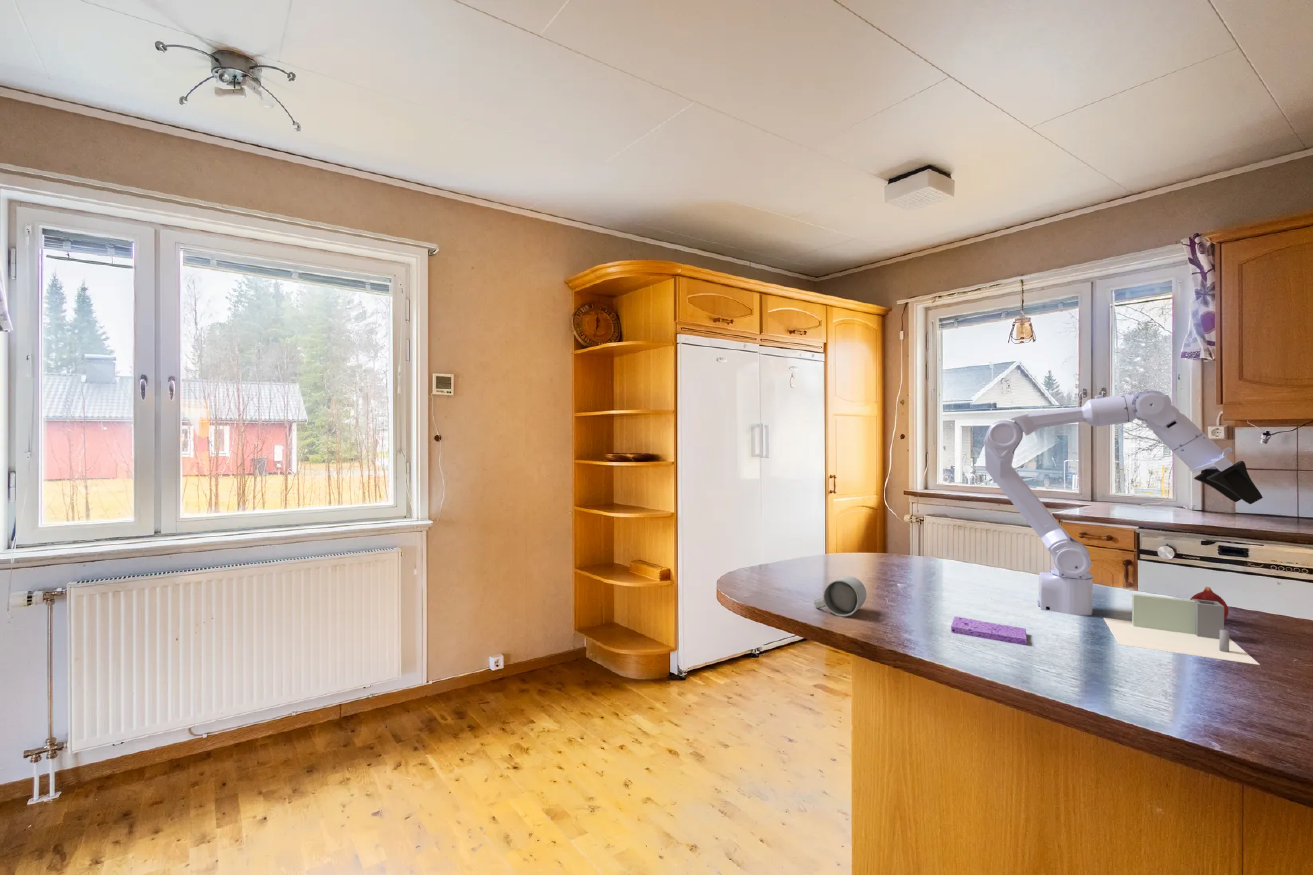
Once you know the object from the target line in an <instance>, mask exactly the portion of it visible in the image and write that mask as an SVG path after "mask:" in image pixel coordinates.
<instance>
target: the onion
mask: <svg viewBox="0 0 1313 875" xmlns="http://www.w3.org/2000/svg"><path fill="white" fill-rule="evenodd" d="M1192 599H1198V600H1207V601H1216V602H1219V603H1220V604H1221V605H1223V606H1224V621H1225V620H1226V619H1227V618H1228V616H1229V613H1230V612H1229V607H1228V604H1227V603H1226V601H1225V600H1224V599H1223V598H1222V597H1221V595H1220V596H1219V595H1218V594H1217V593H1215V592H1214V591H1213V590H1212V588H1211V587H1210V586H1205V587H1204V590H1203V591H1200V592H1198V593H1196V594H1194V595H1193V596H1191V598H1190V599H1189V600H1192Z"/></svg>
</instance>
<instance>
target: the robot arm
mask: <svg viewBox="0 0 1313 875" xmlns="http://www.w3.org/2000/svg"><path fill="white" fill-rule="evenodd" d="M1172 403H1173V402H1172V399H1171V398H1170V396H1169V395H1168V394H1164V393H1163V392H1162V391H1158V390H1151V389H1149V390H1144V391H1139V392H1138V393H1136V394H1135V393H1134V391H1133V390H1130V391H1126V394H1118V395H1111V396H1104V395H1103V394H1099V395H1095V396H1094V398H1091V399H1087V401H1086V402H1085V403H1084V404H1083V405H1082V406H1081V407H1080V406H1079V407H1072V408H1061V409H1055V410H1047V411H1046V410H1045V411H1037V412H1028V413H1025V414H1021V415H1017V416H1014V417H1011V418H1009V420H1007V419H1002V420H998V421H997V420H996V421H994V422H993V423H992V424H991V425H990V426H989V427H988V429H987V430H986V434H985V436H984V440H983V444H984V456H985V457H984V458H985V460H984V461H985V463H984V464H985V465H984V466H985V470H986V472H987V473H988V475H989V476H990V477H991V479H992V480H993V481H994V482H995V483H996V484H997V486H998V488H1000V489H1001V491H1002V492H1003V493H1004V495H1006V497H1007V498H1008V499H1009V501H1010V502H1011V504H1012V505H1013V506H1014V507H1015V508H1016V509H1017V511H1018V512H1019V514H1021V516H1022V517H1023V518H1024V519H1025V521H1026V522H1027V523H1028V525H1029V526H1030V527H1031V528H1032V529H1033V531H1034V532H1035V533H1036V534H1037V535H1038V537H1039V538H1040V539H1041V541H1042V542H1043V545H1044V546H1045V548H1046V549H1047V551H1048V552H1049V553H1050V555H1051V556H1052V561H1053V566H1054V567H1052V568H1050V572H1049V571H1048V572H1045V571H1040V572H1039V574H1038V576H1039V577H1038V597H1037V607H1038V608H1040V610H1041V611H1044V612H1045V611H1048V612H1055V613H1061V614H1067V615H1073V616H1085V617H1086V616H1091V615H1092V614H1093V589H1094V588H1093V581H1094V580H1093V574H1092V573H1091V572H1090V569H1091V565H1092V560H1091V557H1090V552H1089V550H1088V547H1087V546H1086V545H1084V543H1082V542H1081V541H1078V540H1076V539H1074V538H1073V537H1072V536H1071V535H1070V533H1069V532H1068V531H1067V530H1066V529H1065V528H1064V527H1063V526H1062V525H1061V524H1060V523H1059V522H1058V520H1057V519H1056V518H1055V517H1054V516H1053V514H1052V513H1051V511H1049V509H1048V508H1047V507H1046V506H1045V504H1043V502H1042V501H1041V500H1040V498H1039V497H1038V496H1037V495H1036V494H1035V492H1034V491H1033V490H1032V488H1030V486H1029V485H1028V483H1026V481H1025V480H1024V479H1023V478H1022V477H1021V476H1020V474H1019V473H1018V472H1017V471H1016V469H1015V468H1014V467H1013V461H1014V457H1015V451H1016V450H1017V448H1018V447H1019V445H1020V443H1021V441H1023V437H1024V434H1025V436H1029V435H1031V434H1033V433H1034V432H1036V431H1038V430H1039V429H1042V428H1043V429H1044V428H1047V427H1048V428H1049V427H1055V426H1062V425H1069V424H1076V423H1081V422H1082V423H1083V422H1084V423H1086V424H1088V425H1090V426H1091V427H1104V426H1111V425H1119V424H1128V423H1133V421H1135V420H1136V419H1137V420H1139V421H1143V422H1144V424H1146V425H1147V426H1148V427H1149V429H1150V430H1152V433H1153V434H1154V435H1155V436H1156V437H1157V438H1158V439H1159V440H1160V441H1161V442H1162V443H1163V444H1164V445H1165V446H1167V447H1168V449H1169V450H1170V451H1172V453H1173V454H1175V455H1176V456H1177V458H1179V459H1180V460H1181V461H1182V462H1183V463H1184V464H1185V465H1186V466H1187V467H1188V468H1189V471H1190V472H1192V473H1193V474H1194V473H1195V474H1196V473H1198V472H1200V473H1198V475H1195V477H1194V478H1193V479H1194V480H1195V481H1198V482H1201V483H1203V484H1205V485H1207V486H1209V487H1211V488H1212V489H1214V490H1215V491H1217V492H1219V493H1220V494H1222V495H1223V497H1224V496H1225V497H1226V498H1228V499H1229V500H1231V501H1232V502H1234V503H1237V502H1239V501H1241V500H1242V501H1243V502H1245V503H1247V504H1249V505H1252V504H1254V503H1257V502H1258V501H1260V500H1262V499H1263V498H1264V497H1263V496H1262V494H1261V492H1260V491H1259V489H1258V487H1257V486H1256V485H1255V483H1254V482H1253V480H1252V479H1251V476H1250V475H1249V472H1248V469H1247V465H1246V463H1245V461H1243V460H1239V461H1237V462H1236V463H1235V462H1234V464H1233V463H1232V462H1231V460H1229V459H1228V454H1229V453H1231V452H1233V448H1231V447H1225V448H1223V449H1222V448H1221V447H1219V446H1218V445H1217V444H1216V443H1215V442H1214V441H1213V440H1212V439H1211V438H1210V437H1209V436H1208V435H1206V433H1205V432H1204V431H1202V430H1201V429H1200V428H1199V426H1197V425H1196V424H1195V423H1194V422H1193V420H1191V419H1190V418H1188V416H1186V415H1185V414H1184V413H1181V412H1180V410H1179V409H1178V408H1177V407H1176V406H1174V405H1173V404H1172ZM1048 608H1049V609H1048Z"/></svg>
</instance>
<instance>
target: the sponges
mask: <svg viewBox="0 0 1313 875" xmlns="http://www.w3.org/2000/svg"><path fill="white" fill-rule="evenodd" d="M950 632H951V633H952V634H958V635H963V636H968V637H969V636H970V637H975V638H982V639H986V640H987V639H988V640H992V641H998V642H1004V643H1011V644H1016V645H1021V646H1022V645H1024V646H1026V645H1027V644H1028V643H1027V642H1028V640H1027V629H1026V628H1025V627H1018V626H1012V625H1009V624H1001V623H994V622H989V621H982V620H978V619H972V618H966V617H961V616H957V615H956V616H955V615H954V616H953V620H952V622H951V624H950Z"/></svg>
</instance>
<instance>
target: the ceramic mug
mask: <svg viewBox="0 0 1313 875" xmlns="http://www.w3.org/2000/svg"><path fill="white" fill-rule="evenodd" d="M866 599H867V589H866V587H865V585H864V583H863V582H862V581H861V580H859V579H858V578H856V577H855V576H854V577H853V576H849V575H848V576H847V575H845V576H841V577H838V578H837V579H834V580H832V581H830V582H829V583H827V585H826V586H825V587H824V590H823V593H822V597H819V598H817V599H816V600H814V601H813V604H814V606H815V608H816V609H819V608H820V609H821V608H824V607H826V608H827V610H828V611H829V612H830V613H831V614H833V615H835V616H838V617H841V616H842V618H843V617H846V618H847V617H849V616H852V615H854V614H855V613H856V612H857V611H858V610H859V609H860V608H861V607H862V606H863V605H864V604H865V602H866Z"/></svg>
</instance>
